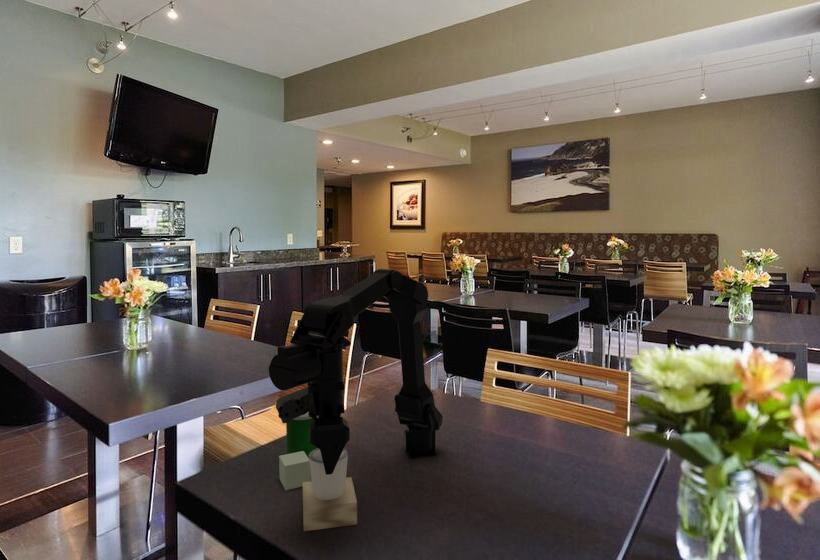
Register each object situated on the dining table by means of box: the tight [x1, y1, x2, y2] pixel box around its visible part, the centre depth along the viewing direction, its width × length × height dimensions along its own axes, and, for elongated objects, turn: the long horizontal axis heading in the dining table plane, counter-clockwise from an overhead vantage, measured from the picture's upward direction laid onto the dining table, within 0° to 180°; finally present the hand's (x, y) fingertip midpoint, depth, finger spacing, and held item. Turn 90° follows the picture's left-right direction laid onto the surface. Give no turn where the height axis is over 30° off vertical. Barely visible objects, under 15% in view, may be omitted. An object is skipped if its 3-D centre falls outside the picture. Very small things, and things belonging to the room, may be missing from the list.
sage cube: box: [278, 451, 312, 491], centre depth 100 cm, size 5×5×5 cm
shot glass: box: [309, 448, 349, 500], centre depth 88 cm, size 7×7×7 cm
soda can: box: [285, 411, 318, 458], centre depth 110 cm, size 8×8×12 cm
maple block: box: [302, 476, 358, 532], centre depth 89 cm, size 9×9×4 cm
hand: (327, 461), depth 88 cm, fingers open, 9 cm apart
